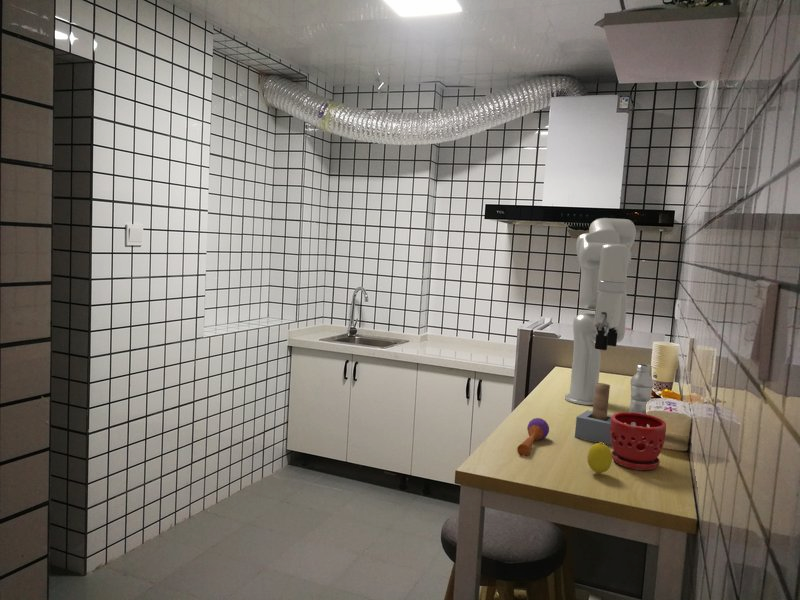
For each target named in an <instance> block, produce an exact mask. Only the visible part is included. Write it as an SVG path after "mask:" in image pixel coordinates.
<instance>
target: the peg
mask: <svg viewBox="0 0 800 600" xmlns="http://www.w3.org/2000/svg"><path fill="white" fill-rule="evenodd" d="M610 389H611V385H610V384H608V383H603V382H598V383H596V384H595V393H594V403H593V405H592V411H593V412H592V418H594V419H599V420H603V421H606V420H607V414H608V408H609V407H608V406H609V399H610Z"/></svg>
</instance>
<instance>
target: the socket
mask: <svg viewBox="0 0 800 600" xmlns="http://www.w3.org/2000/svg"><path fill="white" fill-rule="evenodd" d="M592 412H593V410H589V409H586V410H585V411H584V412H582V413H581V414H579V415H577V416H576V419H575V431H574V438H576V437H577V438H576V439H580V438H581V440H584V439H586V440H585V441H590V442H593V441H594V443H597V442H602V443H604V444H605V445H606V444H607V445H606V446H612V443H611V434H610V423H611V416H612V415H613V414H608V413H607V420H606V421H603V420H599V419H594V418H592Z"/></svg>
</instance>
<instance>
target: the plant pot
mask: <svg viewBox="0 0 800 600" xmlns="http://www.w3.org/2000/svg"><path fill="white" fill-rule="evenodd" d="M611 415H612V416H611V423H610V434H611V443H612V444H611V446H612V448H613V450H611V455H612V461H614V462H615V463H616V464H618V465H621V466H622V467H624V468H627V469H632V470H637V471H651V470H653V469H656V468H657V467H658V466H659V465H660V462H661V461H660V459H659V456H660V454H661V452H662V450H663V448H664V445H665V439H666V432H667V423H666V422H665V421H664V420H663V419H662V418H659V417H657V416H654V415H650V414H649V415H647V414H642V413H634V412H629V411H627V412H626V411H622V412H621V411H620V412H617V413H614V414H611ZM632 422H635V423H636V426H633V425H631V423H632ZM647 424H648V425H649V427H647ZM640 426H642V427H640Z"/></svg>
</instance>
